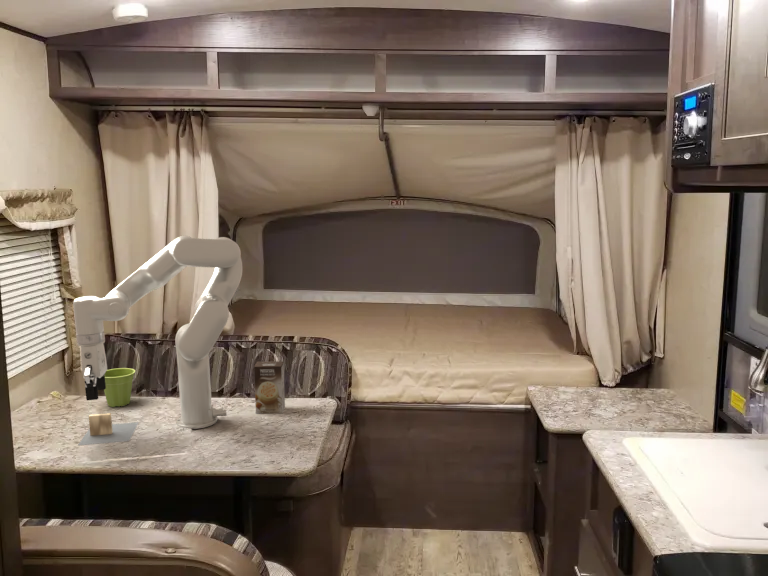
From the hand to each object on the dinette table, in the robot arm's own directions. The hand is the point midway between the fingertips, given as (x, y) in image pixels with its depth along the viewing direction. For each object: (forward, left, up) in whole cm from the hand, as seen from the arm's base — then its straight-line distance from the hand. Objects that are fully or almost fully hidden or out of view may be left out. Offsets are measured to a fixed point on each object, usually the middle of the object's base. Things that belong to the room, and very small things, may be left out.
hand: (96, 394), depth 196 cm
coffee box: (-51, -11, -13) cm, 54 cm away
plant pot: (0, -30, -13) cm, 33 cm away
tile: (+3, 0, -9) cm, 10 cm away
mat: (-3, 0, -13) cm, 13 cm away
